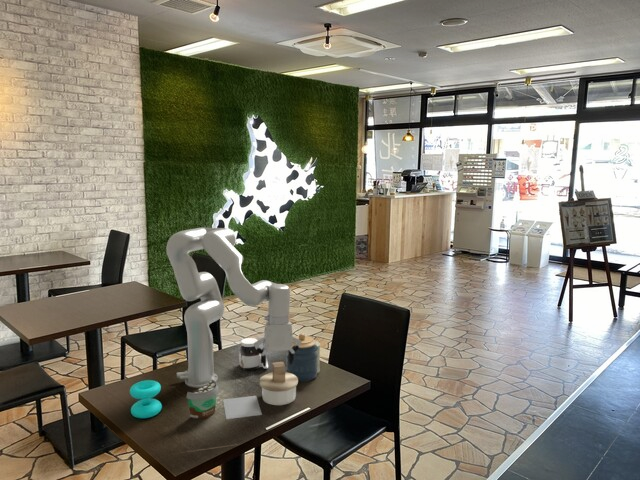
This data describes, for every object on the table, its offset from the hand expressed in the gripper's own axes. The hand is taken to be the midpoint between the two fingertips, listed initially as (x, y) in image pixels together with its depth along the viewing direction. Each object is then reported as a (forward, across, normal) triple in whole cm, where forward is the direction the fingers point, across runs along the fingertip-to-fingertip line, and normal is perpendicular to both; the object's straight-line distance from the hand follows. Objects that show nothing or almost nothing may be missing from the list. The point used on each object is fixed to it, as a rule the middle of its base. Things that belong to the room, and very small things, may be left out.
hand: (277, 363), depth 174 cm
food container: (+14, -25, -7) cm, 29 cm away
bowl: (+13, +1, -1) cm, 13 cm away
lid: (+7, +1, -1) cm, 7 cm away
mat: (+13, -13, -5) cm, 19 cm away
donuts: (+15, -45, 0) cm, 47 cm away
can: (+13, +18, +20) cm, 30 cm away
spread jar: (+14, -4, +28) cm, 32 cm away
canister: (+13, +14, +16) cm, 25 cm away
